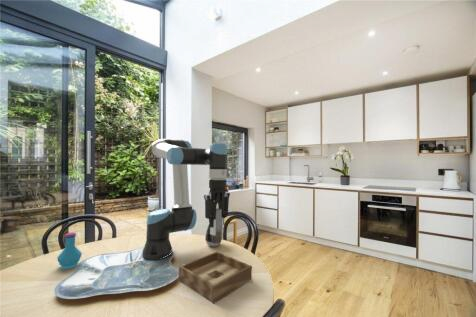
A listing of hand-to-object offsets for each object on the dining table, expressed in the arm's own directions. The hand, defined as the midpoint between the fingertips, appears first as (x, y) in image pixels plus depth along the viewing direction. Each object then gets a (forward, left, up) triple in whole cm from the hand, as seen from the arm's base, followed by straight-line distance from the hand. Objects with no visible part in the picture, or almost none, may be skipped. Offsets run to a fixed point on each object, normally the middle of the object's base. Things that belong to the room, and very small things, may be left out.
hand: (216, 233), depth 94 cm
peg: (0, 0, -4) cm, 4 cm away
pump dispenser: (-30, +26, -20) cm, 45 cm away
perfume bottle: (-60, -39, -20) cm, 74 cm away
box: (0, 0, -20) cm, 20 cm away
